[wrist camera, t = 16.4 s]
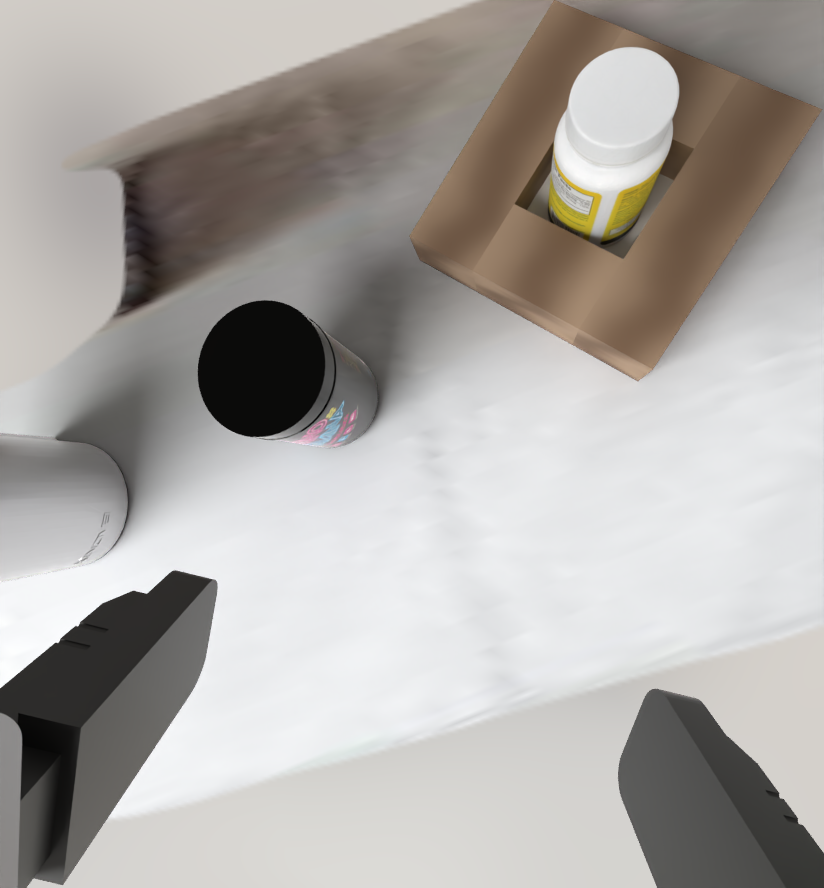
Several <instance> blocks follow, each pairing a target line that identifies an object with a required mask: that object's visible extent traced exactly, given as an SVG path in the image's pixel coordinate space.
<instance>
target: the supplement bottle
mask: <svg viewBox="0 0 824 888" xmlns="http://www.w3.org/2000/svg"><path fill="white" fill-rule="evenodd" d="M678 99H679V83H678V79H677V76H676V73H675V71H674V69H673V68H672V66H671V65H670V64H669V62H668V61H666V60H665V59H664V58H663V57H662V56H660V55H659V54H657V53H656V52H653V51H651V50H648V49H644V48H639V47H624V48H618V49H614V50H611V51H608V52H606V53H604V54H602V55H600V56H598V57H597V58H595V59H594V60H592V61H591V62H590V63H589V64H588V65H587V66H586V67H585V68H584V69H583V70H582V71H581V72H580V74H579V75H578V77H577V78H576V80H575V82H574V84H573V86H572V89H571V92H570V96H569V101H568V106H567V110H566V111H565V113H564V114H563V116H562V118H561V120H560V122H559V124H558V127H557V130H556V134H555V139H554V147H553V158H552V168H551V179H550V189H549V199H548V217H549V221H550V222H551V223H553V224H555V225H557V226H559V227H561V228H563V229H565V230H567V231H569V232H571V233H573V234H575V235H577V236H578V237H580V238H582V239H584V240H586V241H588V242H590V243H592V244H594V245H596V246H598V247H600V248H605V247H608V246H611V245H613V244H615V243H617V242H619V241H620V240H622V239H623V238H624V237H625V236H626V235H628V234H629V232H630V231H631V230H632V229H633V227H634V226H635V224H636V223H637V221H638V219H639V217H640V215H641V212H642V210H643V208H644V206H645V203H646V201H647V199H648V197H649V195H650V192H651V190H652V188H653V186H654V184H655V181H656V179H657V177H658V175H659V173H660V170H661V168H662V166H663V164H664V161H665V159H666V157H667V155H668V152H669V150H670V146H671V142H672V137H673V122H672V118H673V116H674V113H675V111H676V108H677V104H678Z"/></svg>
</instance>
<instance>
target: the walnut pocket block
mask: <svg viewBox="0 0 824 888" xmlns="http://www.w3.org/2000/svg"><path fill="white" fill-rule="evenodd" d="M624 47H639V48H644V49H648V50H651V51H653V52H656V53H657V54H659V55H660V56H662V57H663V58H664V59H665V60H666V61H668V62H669V64H670V65H671V66H672V68H673V69H674V71H675V73H676V76H677V79H678V83H679V99H678V104H677V108H676V111H675V113H674V116H673V118H672V122H673V137H672V142H671V146H670V150H669V152H668V155H667V157H666V159H665V161H664V164H663V166H662V168H661V170H660V173H659V175H658V177H657V179H656V181H655V184H654V186H653V188H652V190H651V192H650V195H649V197H648V199H647V201H646V203H645V206H644V208H643V210H642V212H641V215H640V217H639V219H638V221H637V223H636V224H635V226H634V227H633V229H632V230H631V231H630V232H629V234H628V235H626V236H625V237H624V238H623V239H622V240H620V241H619V242H617V243H615V244H613V245H611V246H608V247H605V248H600V247H598V246H596V245H594V244H592V243H590V242H588V241H586V240H584V239H582V238H580V237H578V236H577V235H575V234H573V233H571V232H569V231H567V230H565V229H563V228H561V227H559V226H557V225H555V224H553V223H551V222H550V221H549V217H548V199H549V189H550V179H551V168H552V158H553V147H554V139H555V134H556V130H557V127H558V124H559V122H560V120H561V118H562V116H563V114H564V113H565V111H566V110H567V106H568V101H569V96H570V92H571V89H572V86H573V84H574V82H575V80H576V78H577V77H578V75H579V74H580V72H581V71H582V70H583V69H584V68H585V67H586V66H587V65H588V64H589V63H590V62H591V61H592V60H594V59H595V58H597V57H598V56H600V55H602V54H604V53H606V52H608V51H611V50H614V49H618V48H624ZM821 110H822V109H820V108H817V107H815V106H812V105H810V104H808V103H805V102H803V101H800V100H798V99H795V98H793V97H790V96H788V95H786V94H783V93H781V92H778V91H776V90H773V89H771V88H768V87H766V86H764V85H761V84H759V83H756V82H754V81H751V80H749V79H746V78H744V77H742V76H739V75H737V74H734V73H732V72H729V71H727V70H724V69H722V68H720V67H717V66H715V65H712V64H710V63H707V62H705V61H702V60H700V59H698V58H695V57H693V56H690V55H688V54H685V53H683V52H680V51H678V50H676V49H673V48H671V47H668V46H666V45H663V44H661V43H658V42H656V41H654V40H651V39H649V38H646V37H644V36H641V35H639V34H636V33H634V32H632V31H629V30H627V29H624V28H622V27H619V26H617V25H614V24H612V23H610V22H607V21H605V20H602V19H600V18H597V17H595V16H592V15H590V14H587V13H585V12H583V11H580V10H578V9H575V8H573V7H570V6H568V5H565V4H563V3H561V2H558V1H556V0H554V1H553V3H552V5H551V6H550V8H549V9H548V11H547V13H546V14H545V16H544V18H543V19H542V21H541V22H540V24H539V26H538V27H537V29H536V31H535V32H534V34H533V35H532V37H531V39H530V40H529V42H528V44H527V45H526V47H525V49H524V50H523V52H522V53H521V55H520V57H519V58H518V60H517V62H516V63H515V65H514V66H513V68H512V70H511V71H510V73H509V75H508V76H507V78H506V79H505V81H504V83H503V84H502V86H501V88H500V89H499V91H498V93H497V94H496V96H495V97H494V99H493V101H492V102H491V104H490V106H489V107H488V109H487V110H486V112H485V114H484V115H483V117H482V119H481V120H480V122H479V123H478V125H477V127H476V128H475V130H474V132H473V133H472V135H471V137H470V138H469V140H468V141H467V143H466V145H465V146H464V148H463V150H462V151H461V153H460V154H459V156H458V158H457V159H456V161H455V163H454V164H453V166H452V167H451V169H450V171H449V172H448V174H447V176H446V177H445V179H444V181H443V182H442V184H441V185H440V187H439V189H438V190H437V192H436V194H435V195H434V197H433V198H432V200H431V202H430V203H429V205H428V207H427V208H426V210H425V211H424V213H423V215H422V216H421V218H420V220H419V221H418V223H417V225H416V226H415V228H414V229H413V231H412V233H411V234H410V239H411V241H412V243H413V246H414V248H415V250H416V252H417V255H418V257H419V259H420V260H421V261H423V262H424V263H426V264H428V265H430V266H432V267H433V268H435V269H437V270H439V271H441V272H442V273H444V274H446V275H448V276H450V277H451V278H453V279H455V280H457V281H459V282H460V283H462V284H464V285H466V286H468V287H469V288H471V289H473V290H475V291H477V292H478V293H480V294H482V295H484V296H486V297H487V298H489V299H491V300H493V301H495V302H496V303H498V304H500V305H502V306H504V307H505V308H507V309H509V310H511V311H513V312H514V313H516V314H518V315H520V316H522V317H523V318H525V319H527V320H529V321H531V322H532V323H534V324H536V325H538V326H540V327H541V328H543V329H545V330H547V331H549V332H550V333H552V334H554V335H556V336H558V337H559V338H561V339H563V340H565V341H567V342H568V343H570V344H572V345H574V346H576V347H577V348H579V349H581V350H583V351H585V352H586V353H588V354H590V355H592V356H594V357H595V358H597V359H599V360H601V361H603V362H604V363H606V364H608V365H610V366H612V367H613V368H615V369H617V370H619V371H621V372H622V373H624V374H626V375H628V376H630V377H631V378H633V379H635V380H637V381H639V380H640V379H641V378H643V377H644V376H645V375H646V374H648V373H649V372H650V371H651V370H653V368H654V367H655V365H656V364H657V362H658V361H659V359H660V358H661V356H662V354H663V353H664V351H665V350H666V348H667V347H668V345H669V344H670V342H671V341H672V339H673V338H674V336H675V335H676V333H677V331H678V330H679V328H680V327H681V325H682V324H683V322H684V321H685V319H686V318H687V316H688V315H689V313H690V312H691V310H692V308H693V307H694V305H695V304H696V302H697V301H698V299H699V298H700V296H701V295H702V293H703V292H704V290H705V288H706V287H707V285H708V284H709V282H710V281H711V279H712V278H713V276H714V275H715V273H716V272H717V270H718V269H719V267H720V265H721V264H722V262H723V261H724V259H725V258H726V256H727V255H728V253H729V252H730V250H731V249H732V247H733V246H734V244H735V242H736V241H737V239H738V238H739V236H740V235H741V233H742V232H743V230H744V229H745V227H746V226H747V224H748V222H749V221H750V219H751V218H752V216H753V215H754V213H755V212H756V210H757V209H758V207H759V206H760V204H761V203H762V201H763V199H764V198H765V196H766V195H767V193H768V192H769V190H770V189H771V187H772V186H773V184H774V183H775V181H776V180H777V178H778V176H779V175H780V173H781V172H782V170H783V169H784V167H785V166H786V164H787V163H788V161H789V160H790V158H791V156H792V155H793V153H794V152H795V150H796V149H797V147H798V146H799V144H800V143H801V141H802V140H803V138H804V137H805V135H806V133H807V132H808V130H809V129H810V127H811V126H812V124H813V123H814V121H815V120H816V118H817V117H818V115H819V113H820V112H821Z"/></svg>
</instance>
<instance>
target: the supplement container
mask: <svg viewBox="0 0 824 888" xmlns="http://www.w3.org/2000/svg"><path fill="white" fill-rule="evenodd" d="M198 382H199V388H200V393H201V395H202V398H203V401H204V403H205V405H206V407H207V408H208V410H209V412H210V413H211V414H212V416H213V417H214V418H215V419H216V420H217V421H218V422H219V423H220V424H221V425H223V426H224V427H226V428H227V429H229V430H231V431H233V432H235V433H237V434H240V435H244V436H249V437H255V438H259V439H264V440H279V441H285V442H291V443H298V444H304V445H310V446H317V447H323V448H335V447H341V446H344V445H347V444H349V443H351V442H353V441H354V440H356V439H357V438H359V437H360V436H361V435H362V434H363V433H364V432H365V431H366V430H367V428H368V427H369V426H370V424H371V422H372V421H373V419H374V416H375V414H376V410H377V406H378V387H377V383H376V380H375V377H374V375H373V373H372V371H371V370H370V368H369V367H368V366H367V365H366V364H365V362H364V361H362V360H361V359H360V358H359V357H357V356H356V355H355V354H354V353H352V352H351V351H350V350H348V349H347V348H346V347H344V346H343V345H342V344H340V343H339V342H338V341H337V340H335V339H334V338H333V337H331V336H330V335H329V334H327V333H326V332H325V331H323V330H322V329H321V328H320V327H319V326H318V325H317V324H316V323H315V322H314V321H312V320H311V319H309V318H308V317H306V316H305V315H304V314H302V313H301V312H300V311H298V310H297V309H295V308H293V307H291V306H289V305H287V304H284V303H281V302H276V301H266V300H264V301H255V302H250V303H247V304H244V305H242V306H239V307H237V308H235V309H233V310H232V311H230V312H229V313H227V314H226V315H225V316H224V317H223V318H222V319H221V320H219V321H218V322H217V324H216V325H215V326H214V327H213V329H212V330H211V332H210V333H209V335H208V336H207V338H206V340H205V342H204V345H203V347H202V350H201V353H200V358H199V364H198Z"/></svg>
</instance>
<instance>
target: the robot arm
mask: <svg viewBox="0 0 824 888" xmlns="http://www.w3.org/2000/svg"><path fill="white" fill-rule="evenodd" d="M127 508H128V496H127V488H126V484H125V481H124V478H123V475H122V473H121V471H120V469H119V468H118V466H117V464H116V463H115V462H114V461H113V459H112V458H111V457H110V456H109V455H108V454H107V453H105V452H104V451H103V450H101V449H100V448H98V447H95V446H93V445H90V444H86V443H79V442H68V441H58V440H56V439H55V438H51V437H40V436H28V435H17V434H5V433H0V582H5V581H10V580H15V579H20V578H25V577H30V576H35V575H40V574H45V573H50V572H55V571H60V570H65V569H70V568H74V567H79V566H83V565H87V564H90V563H92V562H94V561H96V560H98V559H100V558H101V557H102V556H104V555H105V554H106V553H107V552H108V551H109V550H110V549H111V548H112V547H113V545H114V544H115V543H116V541H117V540H118V538H119V536H120V534H121V532H122V530H123V528H124V524H125V520H126V516H127ZM216 596H217V582H216V580H213V579H209V578H205V577H201V576H197V575H192V574H188V573H184V572H180V571H176V570H175V571H172V572H171V573H169V574H168V575H167V576H166V577H165V578H164V579H163V580H162V581H161V582H159V583H158V584H157V585H156V586H155V587H154V588H153V589H152V590H151V591H150V592H149V593H148V594H145V593H140V592H136V591H132V592H129V593H127V594H124V595H122V596H120V597H117V598H115V599H112V600H110V601H108V602H105V603H103V604H102V605H100V606H99V607H98V608H97V609H96V610H94V611H93V612H92V613H91V614H90V615H88V616H87V617H86V618H85V619H84V620H82V621H81V622H80V624H79V626H78V627H77V626H75V627H74V628H73V629H71V630H70V631H69V632H68V633H67V634H65V635H64V636H63V637H62V638H61V639H60V642H59V643H55V644H53V645H52V646H51V647H50V648H49V649H47V650H46V651H45V652H44V653H42V654H41V655H40V656H39V657H38V658H36V659H35V660H34V661H33V662H32V663H30V664H29V665H28V666H27V667H26V668H24V669H23V670H22V671H21V672H20V673H18V674H17V675H16V676H15V677H14V678H12V679H11V680H10V681H9V682H8V683H6V684H5V685H4V686H3V687H1V688H0V888H27V886H28V885H29V883H30V882H31V881H32V879H33V878H35V879H39V880H43V881H48V882H52V883H57V884H60V885H63V884H64V882H65V881H66V879H67V878H68V876H69V875H70V874H71V872H72V870H73V869H74V867H75V866H76V864H77V863H78V862H79V860H80V858H81V857H82V855H83V854H84V852H85V851H86V850H87V848H88V847H89V845H90V843H91V842H92V840H93V839H94V838H95V836H96V834H97V833H98V832H99V830H100V829H101V827H102V826H103V824H104V823H105V821H106V820H107V818H108V817H109V815H110V814H111V812H112V811H113V809H114V808H115V806H116V805H117V803H118V802H119V800H120V799H121V797H122V796H123V794H124V793H125V791H126V790H127V788H128V787H129V785H130V784H131V782H132V781H133V779H134V778H135V776H136V775H137V773H138V772H139V770H140V769H141V767H142V766H143V764H144V763H145V761H146V760H147V758H148V757H149V755H150V754H151V752H152V751H153V749H154V748H155V746H156V745H157V743H158V742H159V740H160V739H161V737H162V736H163V734H164V733H165V731H166V730H167V728H168V727H169V725H170V724H171V722H172V721H173V719H174V718H175V716H176V715H177V713H178V712H179V710H180V709H181V707H182V706H183V704H184V703H185V701H186V700H187V698H188V697H189V695H190V694H191V692H192V691H193V689H194V687H195V685H196V683H197V681H198V678H199V676H200V673H201V671H202V668H203V665H204V661H205V658H206V653H207V647H208V641H209V636H210V630H211V624H212V619H213V613H214V607H215V601H216ZM618 781H619V790H620V794H621V797H622V800H623V803H624V805H625V808H626V810H627V813H628V815H629V818H630V820H631V823H632V825H633V828H634V830H635V833H636V836H637V838H638V840H639V843H640V846H641V848H642V851H643V853H644V856H645V858H646V861H647V863H648V865H649V868H650V871H651V873H652V876H653V878H654V880H655V883H656V886H657V888H824V853H823V852H822V850H821V849H820V848H819V846H818V845H817V844H816V842H815V841H814V839H813V838H812V837H811V836H810V834H809V833H808V831H807V830H806V829H805V827H804V826H803V825H800V824H798V818H797V817H796V815H795V814H794V812H793V811H792V810H791V808H790V807H789V806H788V805H787V803H786V802H785V800H784V799H780V798H779V792H778V791H777V790H776V788H775V787H774V786H773V784H772V783H771V781H770V780H769V779H768V778H767V776H766V775H765V773H764V772H763V771H762V769H761V768H760V767H759V765H758V764H757V763H756V762H755V761H754V760H753V759H752V758H751V757H749V756H748V755H747V754H746V753H745V752H744V751H743V750H742V749H741V748H739V746H738V745H736V744H735V743H734V742H733V741H732V740H731V739H730V738H729V737H727V736H726V735H725V733H724V732H723V730H722V729H721V728H720V726H719V725H718V723H717V722H716V721H715V719H714V718H713V716H712V715H711V714H710V712H709V711H708V709H707V708H706V707H705V705H704V704H703V703H702V702H701V701H700V700H698V699H696V698H692V697H688V696H684V695H680V694H676V693H672V692H667V691H664V690H659V689H652V690H651V691H649V692H648V693H647V695H646V696H645V698H644V700H643V703H642V705H641V708H640V710H639V713H638V715H637V718H636V720H635V723H634V725H633V728H632V730H631V733H630V735H629V738H628V740H627V743H626V745H625V748H624V750H623V753H622V755H621V758H620V763H619V771H618Z"/></svg>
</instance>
